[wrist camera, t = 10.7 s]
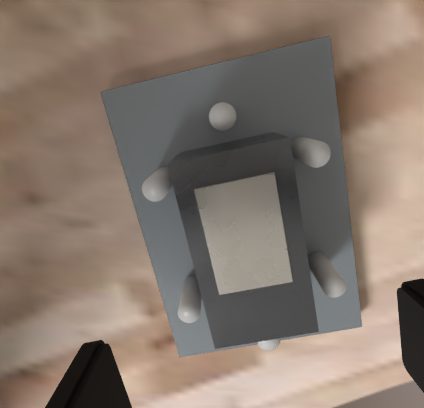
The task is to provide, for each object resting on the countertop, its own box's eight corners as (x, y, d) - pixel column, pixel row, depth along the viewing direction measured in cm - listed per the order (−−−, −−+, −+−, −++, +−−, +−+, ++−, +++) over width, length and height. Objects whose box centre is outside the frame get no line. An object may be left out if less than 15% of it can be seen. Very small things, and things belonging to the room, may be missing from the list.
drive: (297, 285, 22) (319, 333, 18) (215, 300, 23) (214, 350, 18) (272, 132, 20) (290, 137, 15) (180, 152, 20) (166, 164, 15)
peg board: (355, 316, 24) (386, 362, 20) (181, 346, 26) (173, 396, 21) (323, 40, 19) (354, 17, 15) (107, 93, 20) (74, 86, 16)
